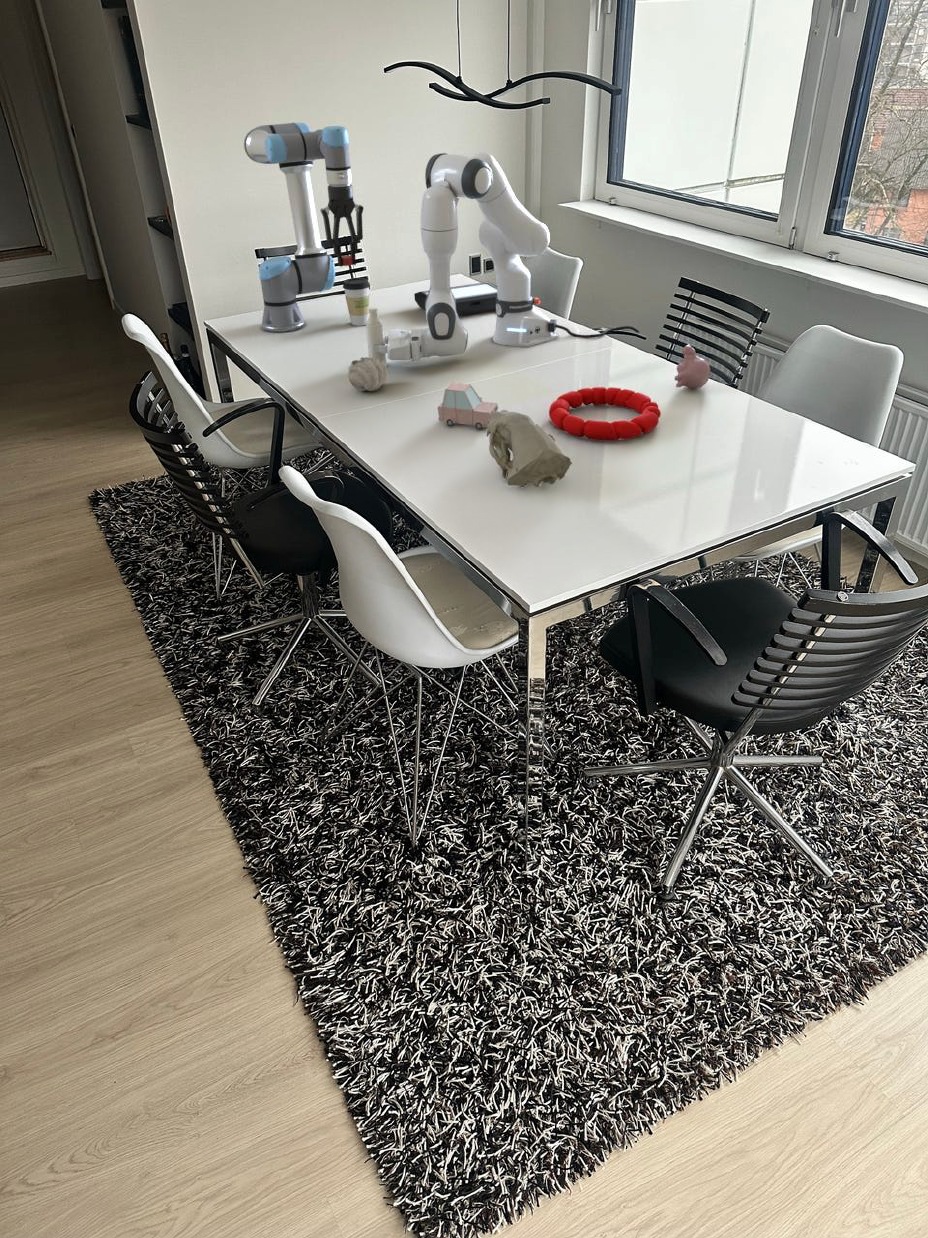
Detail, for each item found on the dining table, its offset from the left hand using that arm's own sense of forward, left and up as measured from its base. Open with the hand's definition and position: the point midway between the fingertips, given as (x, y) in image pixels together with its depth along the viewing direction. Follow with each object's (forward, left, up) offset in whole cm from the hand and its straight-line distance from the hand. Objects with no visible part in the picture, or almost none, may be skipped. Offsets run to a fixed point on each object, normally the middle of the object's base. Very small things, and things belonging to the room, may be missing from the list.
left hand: (347, 264), depth 285 cm
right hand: (+17, +5, -21) cm, 27 cm away
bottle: (+17, +6, -28) cm, 33 cm away
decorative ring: (+80, +62, -28) cm, 105 cm away
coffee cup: (-32, +4, -28) cm, 43 cm away
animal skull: (+104, +33, -28) cm, 113 cm away
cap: (0, 0, +2) cm, 2 cm away
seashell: (+39, +1, -28) cm, 48 cm away
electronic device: (-40, +44, -28) cm, 66 cm away
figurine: (+62, +94, -28) cm, 116 cm away
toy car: (+71, +26, -28) cm, 81 cm away
